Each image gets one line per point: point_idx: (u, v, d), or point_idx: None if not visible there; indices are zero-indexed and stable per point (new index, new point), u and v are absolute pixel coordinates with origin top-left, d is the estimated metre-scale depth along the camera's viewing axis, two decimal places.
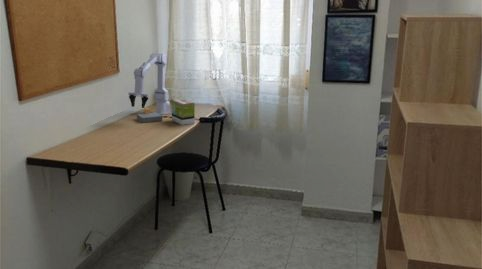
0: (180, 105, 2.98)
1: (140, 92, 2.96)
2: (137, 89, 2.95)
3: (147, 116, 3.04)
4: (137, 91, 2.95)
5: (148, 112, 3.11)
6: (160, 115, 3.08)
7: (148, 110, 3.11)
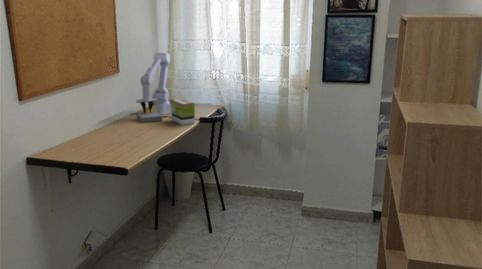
0: (180, 105, 2.98)
1: (150, 98, 3.09)
2: (148, 96, 3.07)
3: (147, 116, 3.04)
4: (149, 98, 3.07)
5: (148, 112, 3.11)
6: (160, 115, 3.08)
7: (148, 110, 3.11)
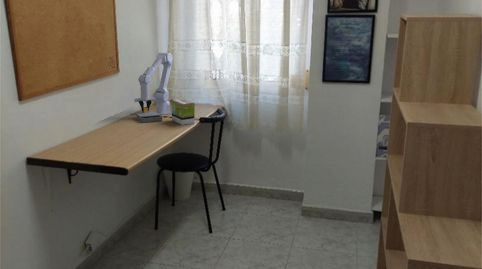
0: (180, 105, 2.98)
1: (148, 97, 3.13)
2: (146, 95, 3.10)
3: (145, 115, 3.08)
4: (146, 97, 3.11)
5: (146, 111, 3.15)
6: (158, 114, 3.12)
7: (146, 109, 3.14)
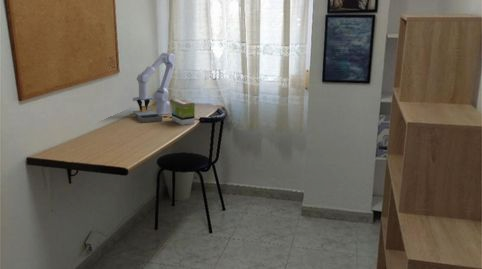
0: (180, 105, 2.98)
1: (146, 96, 3.16)
2: (144, 94, 3.13)
3: (143, 114, 3.11)
4: (145, 96, 3.14)
5: (144, 110, 3.18)
6: (156, 113, 3.15)
7: (144, 108, 3.17)
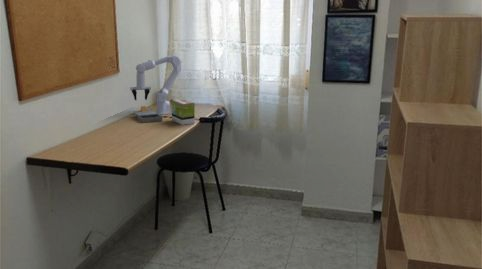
0: (180, 105, 2.98)
1: (144, 86, 3.20)
2: (142, 84, 3.18)
3: (143, 114, 3.11)
4: (142, 86, 3.18)
5: (144, 110, 3.18)
6: (156, 113, 3.15)
7: (144, 108, 3.17)
